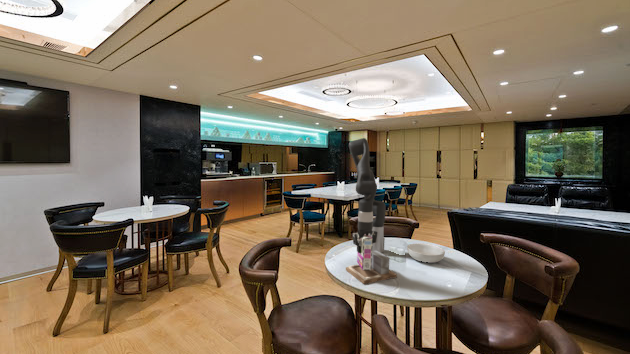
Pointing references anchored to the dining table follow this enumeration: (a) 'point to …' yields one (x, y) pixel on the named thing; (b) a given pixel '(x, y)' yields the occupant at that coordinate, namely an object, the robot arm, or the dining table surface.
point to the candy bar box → (365, 253)
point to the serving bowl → (425, 252)
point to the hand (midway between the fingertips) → (364, 251)
